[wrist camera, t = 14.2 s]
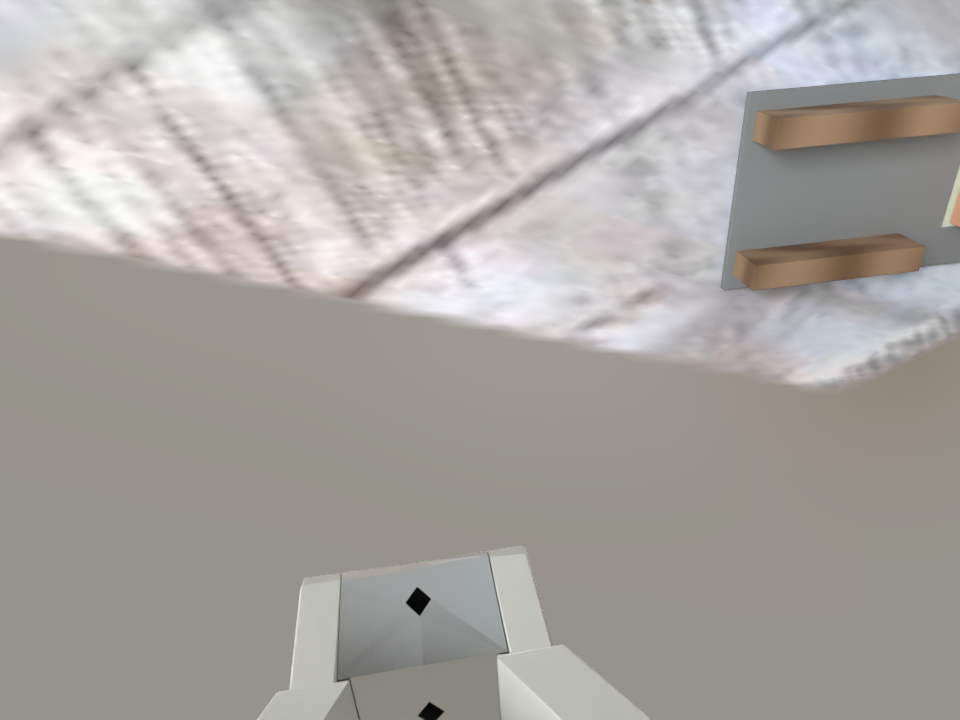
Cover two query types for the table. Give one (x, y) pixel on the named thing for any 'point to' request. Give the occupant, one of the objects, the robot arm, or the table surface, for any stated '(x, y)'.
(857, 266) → the chute rails
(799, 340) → the table surface
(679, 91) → the table surface
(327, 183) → the table surface
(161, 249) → the table surface
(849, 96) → the chute mat
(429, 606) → the robot arm
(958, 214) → the block
